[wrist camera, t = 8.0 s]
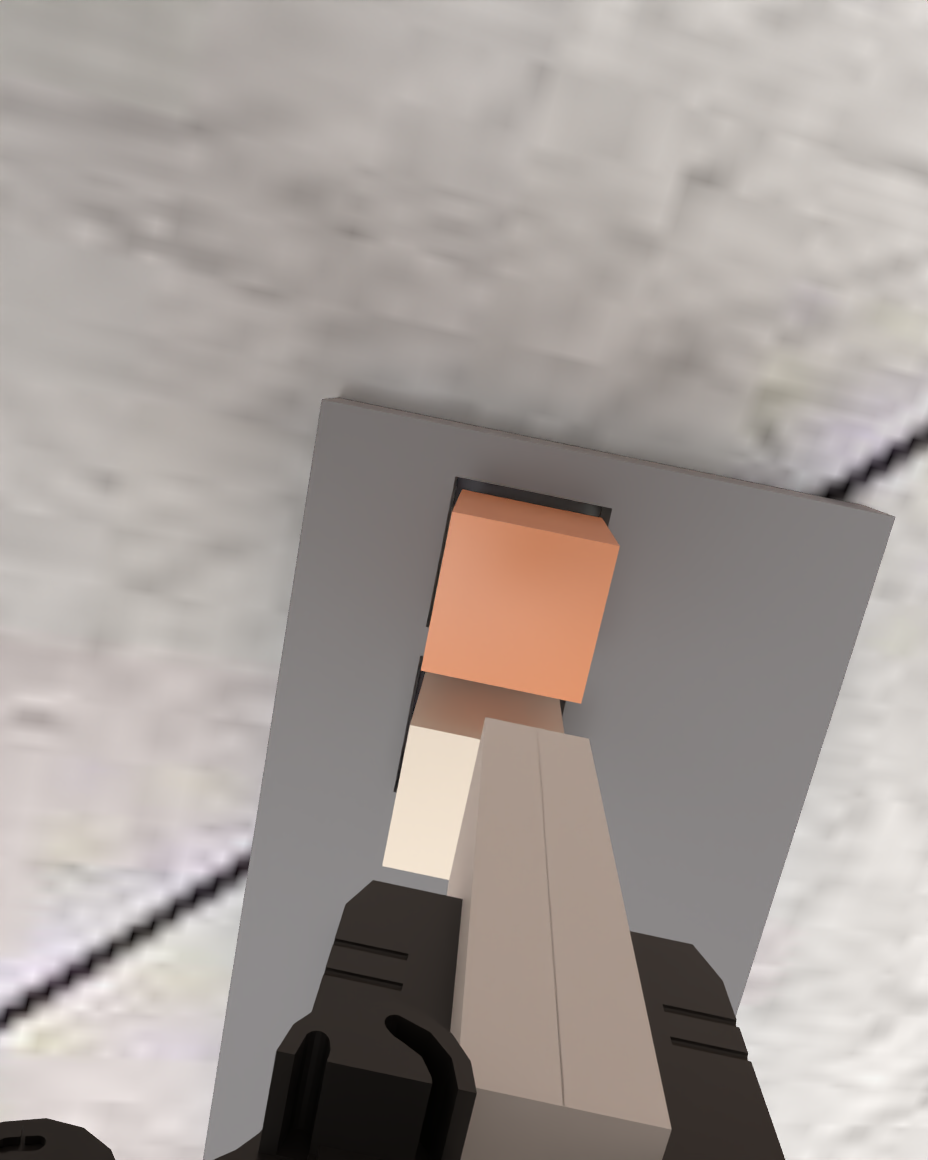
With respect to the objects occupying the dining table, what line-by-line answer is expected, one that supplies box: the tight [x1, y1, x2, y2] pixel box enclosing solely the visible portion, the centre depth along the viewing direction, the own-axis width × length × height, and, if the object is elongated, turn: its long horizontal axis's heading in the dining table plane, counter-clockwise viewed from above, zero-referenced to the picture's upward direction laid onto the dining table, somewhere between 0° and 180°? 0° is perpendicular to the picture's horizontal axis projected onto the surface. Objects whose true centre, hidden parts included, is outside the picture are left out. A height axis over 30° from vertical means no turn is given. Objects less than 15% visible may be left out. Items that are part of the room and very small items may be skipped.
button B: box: [382, 672, 564, 880], centre depth 26 cm, size 4×4×5 cm
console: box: [203, 398, 895, 1160], centre depth 31 cm, size 32×18×4 cm, turn 169°
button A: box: [421, 489, 620, 704], centre depth 25 cm, size 4×4×5 cm
